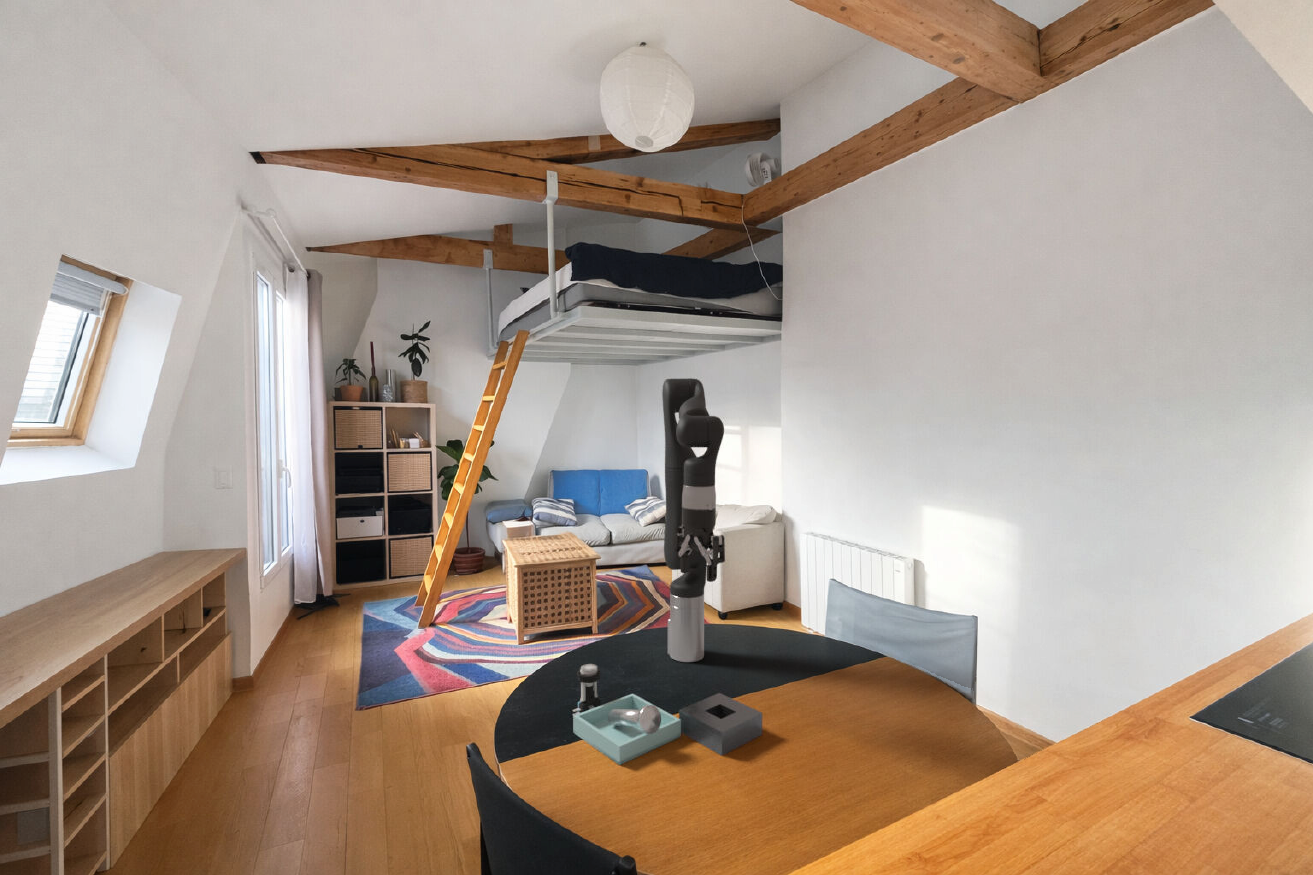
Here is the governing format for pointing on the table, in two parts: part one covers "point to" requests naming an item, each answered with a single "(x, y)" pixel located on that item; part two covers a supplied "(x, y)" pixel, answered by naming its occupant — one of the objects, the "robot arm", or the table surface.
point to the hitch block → (720, 723)
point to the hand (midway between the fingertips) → (697, 576)
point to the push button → (588, 687)
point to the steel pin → (637, 718)
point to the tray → (623, 730)
